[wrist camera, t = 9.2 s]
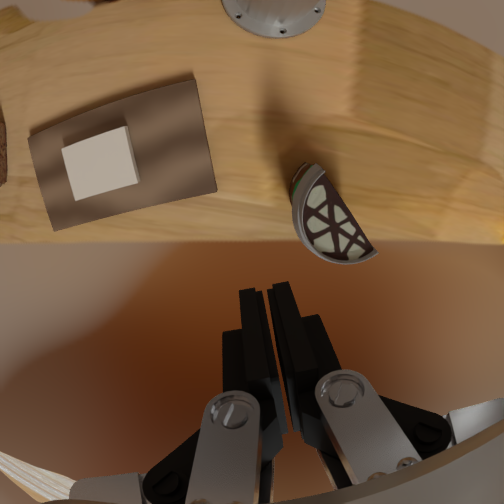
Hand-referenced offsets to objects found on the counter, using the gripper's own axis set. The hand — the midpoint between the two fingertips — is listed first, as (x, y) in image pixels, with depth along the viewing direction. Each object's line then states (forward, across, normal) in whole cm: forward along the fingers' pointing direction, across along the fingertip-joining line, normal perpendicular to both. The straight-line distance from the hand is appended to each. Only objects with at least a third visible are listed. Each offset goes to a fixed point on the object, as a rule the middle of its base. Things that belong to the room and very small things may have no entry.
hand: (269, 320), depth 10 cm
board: (+29, +15, -5) cm, 33 cm away
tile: (+27, +12, -5) cm, 30 cm away
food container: (+29, -8, +6) cm, 31 cm away
